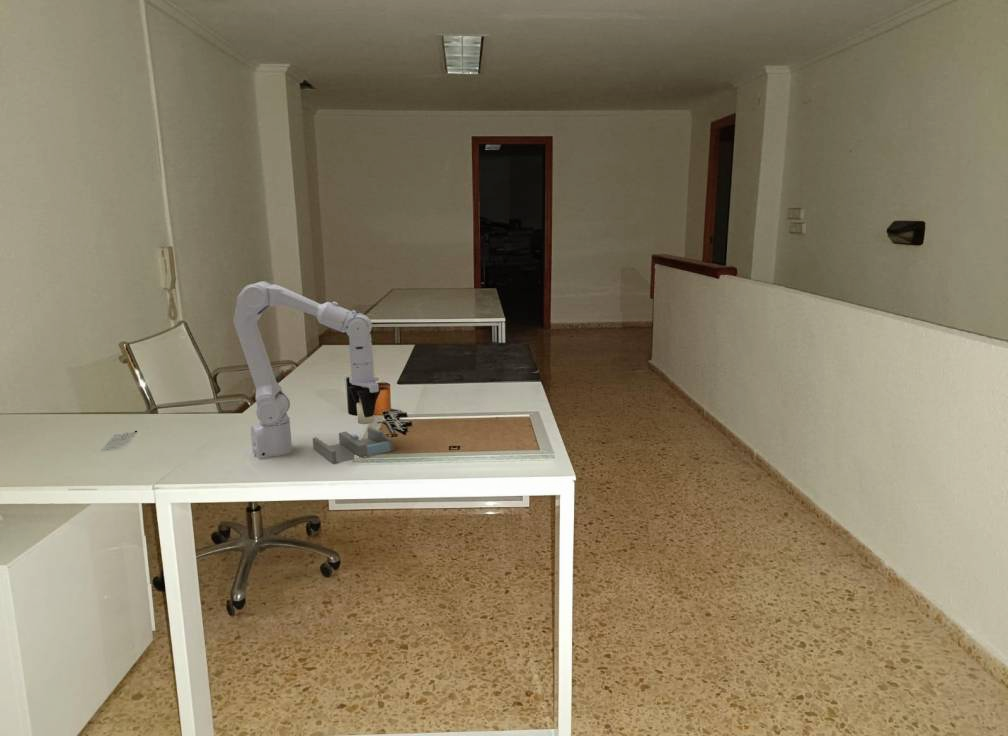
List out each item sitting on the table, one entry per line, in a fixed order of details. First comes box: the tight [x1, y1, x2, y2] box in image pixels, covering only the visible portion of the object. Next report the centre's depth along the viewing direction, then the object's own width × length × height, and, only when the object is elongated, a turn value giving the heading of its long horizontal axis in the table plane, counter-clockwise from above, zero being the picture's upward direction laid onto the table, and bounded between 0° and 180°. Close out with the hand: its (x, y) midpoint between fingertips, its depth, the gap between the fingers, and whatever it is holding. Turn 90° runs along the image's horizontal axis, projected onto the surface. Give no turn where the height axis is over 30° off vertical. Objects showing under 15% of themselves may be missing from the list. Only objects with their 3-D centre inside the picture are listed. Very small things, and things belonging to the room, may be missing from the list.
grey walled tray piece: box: [312, 426, 394, 465], centre depth 176 cm, size 16×14×5 cm
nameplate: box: [376, 408, 413, 436], centre depth 203 cm, size 28×2×10 cm
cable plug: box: [356, 398, 375, 425], centre depth 176 cm, size 4×4×7 cm
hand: (365, 414), depth 177 cm, fingers closed on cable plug, 4 cm apart
